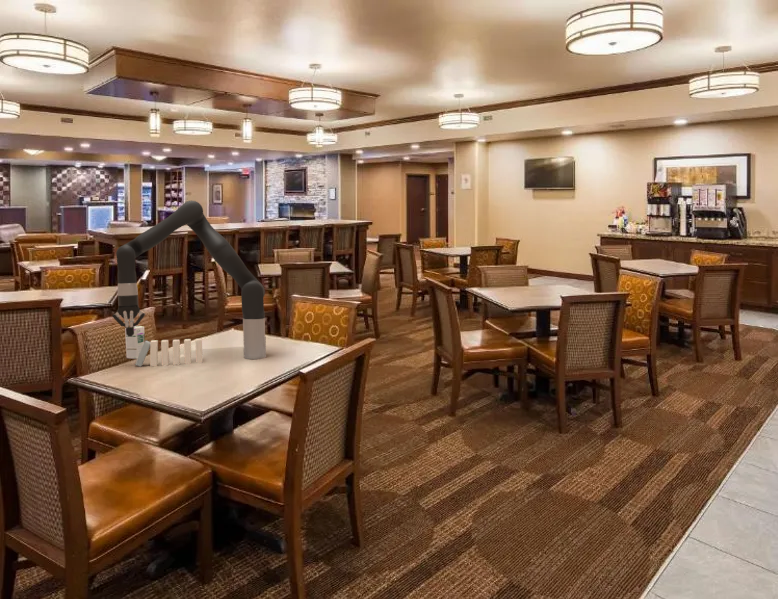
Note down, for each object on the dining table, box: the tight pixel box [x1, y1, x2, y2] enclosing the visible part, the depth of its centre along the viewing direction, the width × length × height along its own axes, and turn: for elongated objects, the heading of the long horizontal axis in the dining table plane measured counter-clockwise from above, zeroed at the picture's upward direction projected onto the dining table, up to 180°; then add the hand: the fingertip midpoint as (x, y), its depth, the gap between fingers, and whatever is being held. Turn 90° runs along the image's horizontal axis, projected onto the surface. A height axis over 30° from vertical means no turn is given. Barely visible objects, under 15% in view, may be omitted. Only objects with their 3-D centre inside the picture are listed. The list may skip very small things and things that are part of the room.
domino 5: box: [183, 338, 192, 365], centre depth 250 cm, size 2×5×10 cm, turn 16°
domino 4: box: [172, 339, 181, 366], centre depth 249 cm, size 2×5×10 cm, turn 16°
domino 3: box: [160, 339, 170, 367], centre depth 247 cm, size 2×5×10 cm, turn 16°
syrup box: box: [124, 325, 146, 360], centre depth 259 cm, size 6×6×14 cm
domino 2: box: [149, 339, 159, 367], centre depth 246 cm, size 2×5×10 cm, turn 16°
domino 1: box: [134, 340, 151, 368], centre depth 245 cm, size 2×5×10 cm, turn 16°
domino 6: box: [194, 338, 203, 364], centre depth 251 cm, size 2×5×10 cm, turn 16°
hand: (130, 336), depth 244 cm, fingers closed
